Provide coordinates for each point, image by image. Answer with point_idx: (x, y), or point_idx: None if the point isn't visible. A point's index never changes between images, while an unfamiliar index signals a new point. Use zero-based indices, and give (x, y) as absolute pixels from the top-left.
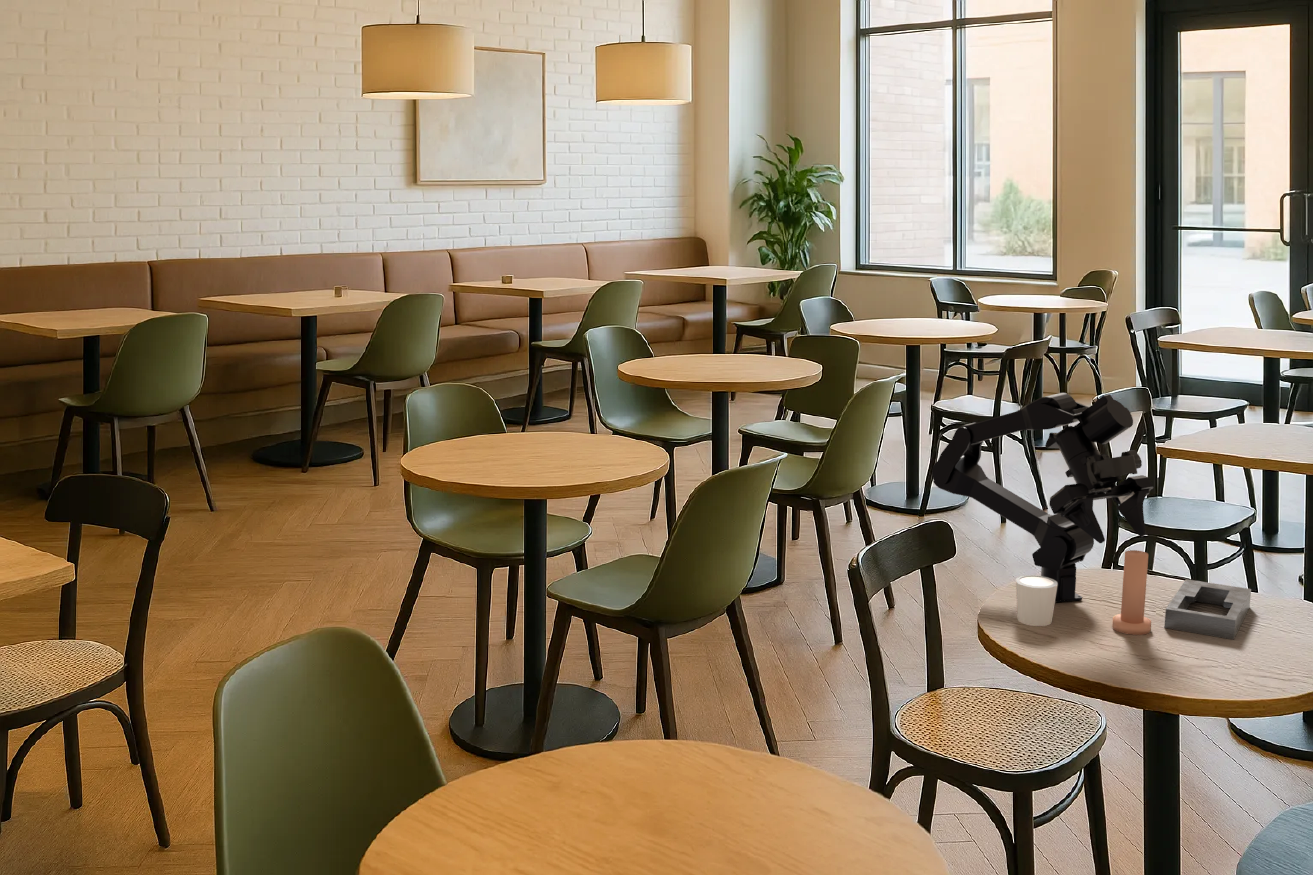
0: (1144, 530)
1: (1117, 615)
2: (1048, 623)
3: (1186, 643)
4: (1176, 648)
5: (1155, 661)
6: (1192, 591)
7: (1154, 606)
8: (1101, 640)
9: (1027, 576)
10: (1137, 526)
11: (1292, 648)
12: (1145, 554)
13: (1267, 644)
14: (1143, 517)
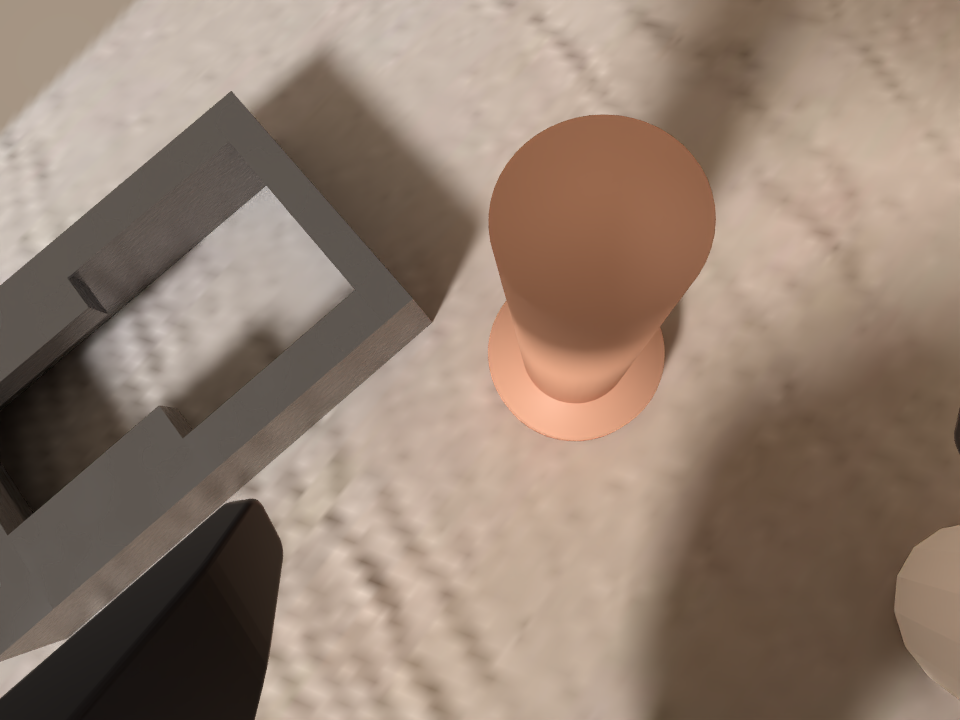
0: (210, 526)
1: (605, 424)
2: (950, 527)
3: (468, 151)
4: (542, 116)
5: (711, 25)
6: (107, 479)
7: (282, 574)
8: (796, 271)
9: None
10: (224, 641)
11: (151, 22)
12: (534, 170)
13: (198, 72)
14: (24, 682)
